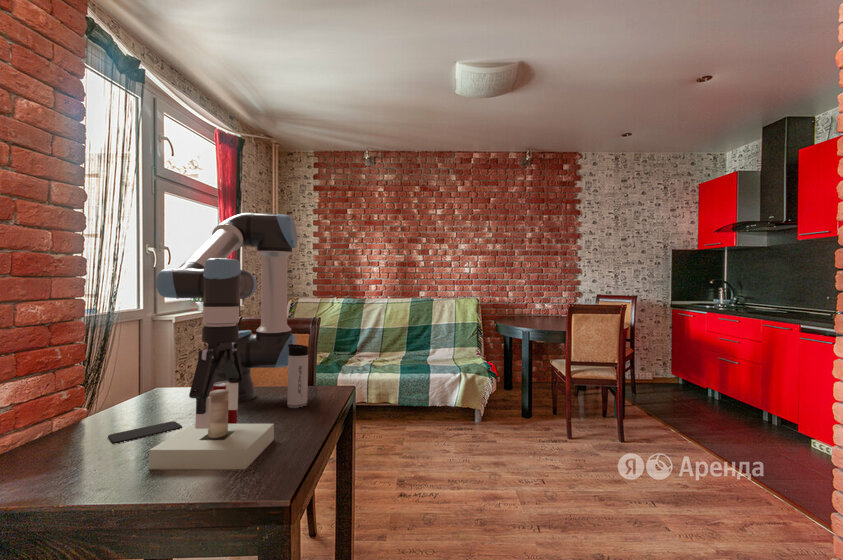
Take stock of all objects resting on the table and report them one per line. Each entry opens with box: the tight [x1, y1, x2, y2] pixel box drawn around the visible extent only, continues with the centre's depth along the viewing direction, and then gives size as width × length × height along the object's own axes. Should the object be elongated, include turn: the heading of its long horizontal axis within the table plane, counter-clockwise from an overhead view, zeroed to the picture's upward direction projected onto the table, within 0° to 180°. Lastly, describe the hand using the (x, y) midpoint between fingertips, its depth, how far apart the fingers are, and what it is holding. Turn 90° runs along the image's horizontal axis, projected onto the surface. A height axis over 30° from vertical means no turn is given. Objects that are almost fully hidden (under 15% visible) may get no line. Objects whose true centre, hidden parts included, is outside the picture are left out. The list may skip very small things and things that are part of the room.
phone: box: [107, 420, 183, 444], centre depth 99 cm, size 7×1×15 cm
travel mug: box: [286, 344, 309, 409], centre depth 124 cm, size 6×7×20 cm
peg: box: [208, 389, 229, 440], centre depth 87 cm, size 4×4×14 cm
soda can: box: [210, 381, 238, 424], centre depth 104 cm, size 7×7×12 cm
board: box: [148, 423, 275, 470], centre depth 87 cm, size 16×20×4 cm
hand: (218, 418), depth 87 cm, fingers open, 12 cm apart
